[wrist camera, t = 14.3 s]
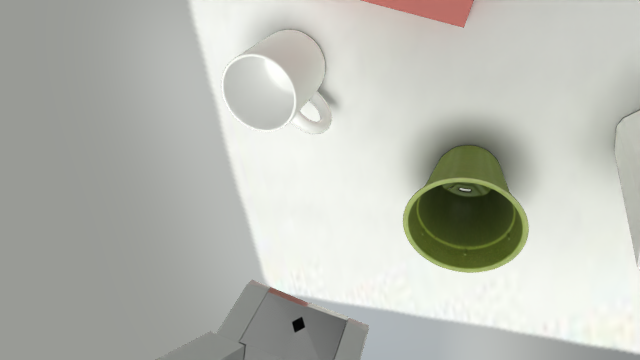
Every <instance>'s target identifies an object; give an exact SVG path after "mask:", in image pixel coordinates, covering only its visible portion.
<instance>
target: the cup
mask: <svg viewBox="0 0 640 360" xmlns="http://www.w3.org/2000/svg"><path fill="white" fill-rule="evenodd" d="M614 152H615V157H616V162H617V167H618V172H619V178H620V183H621V188H622V193H623V198H624V203H625V208H626V213H627V218H628V223H629V228H630V233H631V238H632V243H633V248H634V253H635V258H636V263H637V267H638V268H639V270H640V110H639V111H637V112H635V113H633V114H631V115H629V116H627V117H625V118H623V119H622V120H621V122H620V123H619V124H618V125H617V129H616V138H615V148H614Z"/></svg>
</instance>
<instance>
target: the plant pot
mask: <svg viewBox="0 0 640 360" xmlns="http://www.w3.org/2000/svg"><path fill="white" fill-rule="evenodd" d="M454 185H455V186H454ZM452 186H454V187H452ZM451 187H452V188H451ZM449 188H451V189H449ZM459 188H464V189H471V192H463V191H460V190H459ZM403 227H404V231H405V234H406V236H407V239H408V240H409V242H410V244H411V245H412V246H413V248H414V249H415V250H416V251H417V252H418V253H419V254H420V255H421V256H423V257H424V258H425V259H427V260H428V261H430V262H432V263H434V264H436V265H438V266H440V267H443V268H446V269H449V270H453V271H458V272H467V273H473V272H482V271H488V270H493V269H495V268H498V267H500V266H503V265H504V264H506V263H508V262H510V261H511V260H512V259H514V258H515V257H516V256H517V255H518V254H519V253H520V251H521V250H522V249H523V247H524V245H525V243H526V240H527V237H528V232H529V227H528V220H527V216H526V214H525V212H524V210H523V208H522V206H521V205H520V204H519V202H518V201H517V200H516V199H515V198H514V197H513V196H512V195H511V193H510V192H509V190H508V187H507V184H506V181H505V179H504V176H503V173H502V170H501V168H500V165H499V162H498V161H497V159H496V158H495V157H494V156H493V155H492V154H491V153H490V152H489V151H487V150H486V149H483V148H480V147H477V146H472V145H465V146H459V147H455V148H453V149H451V150H450V151H448V152H447V153H446V154H444V155H443V156H442V157H441V159H440V160H439V162H438V164H437V166H436V167H435V169H434V171H433V173H432V175H431V176H430V178H429V180H428V182H427V183H426V185H425V186H424V187H423V188H421V189H420V190H419V191H417V192H416V193H415V194H414V195H413V196H412V198H411V199H410V200H409V202H408V204H407V206H406V208H405V211H404V215H403Z"/></svg>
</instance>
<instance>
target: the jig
mask: <svg viewBox="0 0 640 360" xmlns="http://www.w3.org/2000/svg"><path fill="white" fill-rule="evenodd" d="M362 1H365V2H369V3H373V4H377V5H381V6H384V7H388V8H392V9H396V10H399V11H403V12H407V13H411V14H414V15H418V16H422V17H426V18H429V19H433V20H437V21H441V22H445V23H448V24H452V25H456V26H460V27H463V28H464V26H465V23H466V20H467V17H468V15H469V12H470V9H471V6H472V4H473V1H474V0H362Z"/></svg>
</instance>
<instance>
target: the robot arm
mask: <svg viewBox="0 0 640 360" xmlns="http://www.w3.org/2000/svg"><path fill="white" fill-rule="evenodd" d="M368 330H369V325H367V324H364V323H362V322H358V321H356V320H354V319H351V318H348V317H347V316H345V315H342V314H339V313H337V312H334V311H331V310H328V309H326V308H323V307H320V306H318V305H315V304H312V303H307V302H305V301H303V300H300V299H298V298H295V297H293V296H291V295H288V294H286V293H284V292H281V291H279V290H276V289H274V288H272V287H269V286H267V285H264V284H262V283H259V282H256V281H254V280H251V281H250V282H249V283H248V284H247V286H246V287H245V289H244V290H243V292H242V293H241V295H240V297H239V298H238V300H237V301H236V303H235V304H234V306H233V308H232V309H231V311H230V313H229V314H228V316H227V317H226V319H225V321H224V322H223V324H222V325H221V327H220V328H219V331H218V332H217V333H215V332H212V331H210V332H208V333H206V334H204V335H202V336H200V337H198V338H196V339H195V340H193V341H191V342H189V343H187V344H185V345H183V346H181V347H179V348H177V349H175V350H173V351H171V352H169V353H168V354H166V355H164V356H162V357H160V358H158V359H156V360H360V359H361V355H362V352H363V348H364V344H365V341H366V337H367V334H368Z"/></svg>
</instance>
